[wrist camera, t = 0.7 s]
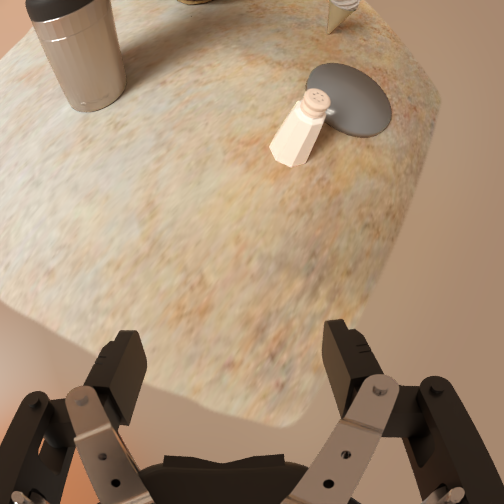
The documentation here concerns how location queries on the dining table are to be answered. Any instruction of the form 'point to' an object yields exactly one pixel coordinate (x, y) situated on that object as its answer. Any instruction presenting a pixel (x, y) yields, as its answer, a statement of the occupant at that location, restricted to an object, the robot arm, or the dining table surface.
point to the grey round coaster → (351, 100)
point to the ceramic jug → (193, 1)
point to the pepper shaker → (300, 129)
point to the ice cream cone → (340, 12)
